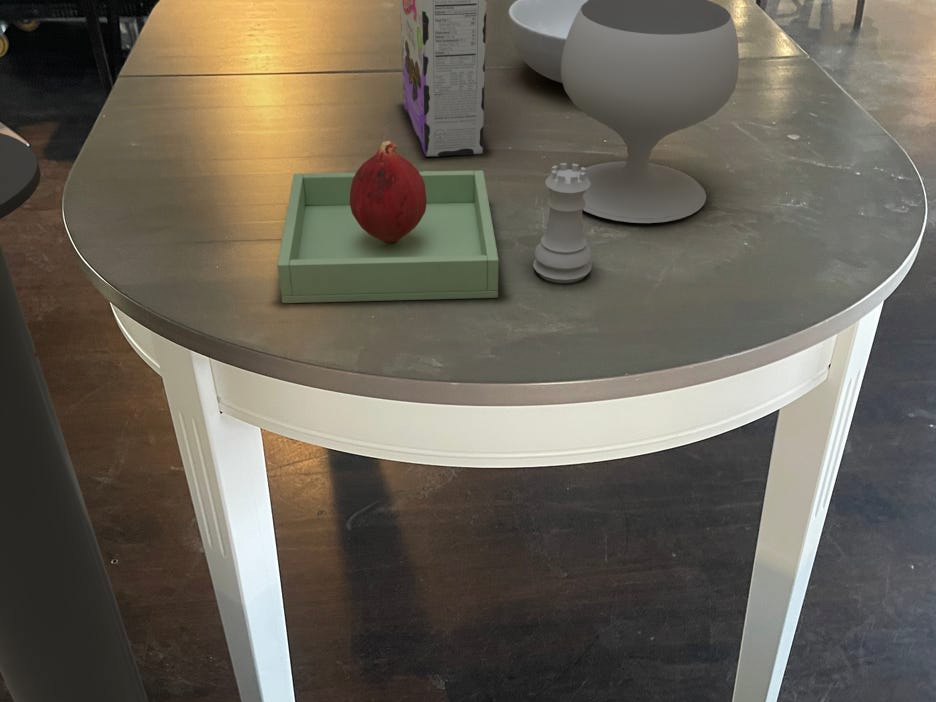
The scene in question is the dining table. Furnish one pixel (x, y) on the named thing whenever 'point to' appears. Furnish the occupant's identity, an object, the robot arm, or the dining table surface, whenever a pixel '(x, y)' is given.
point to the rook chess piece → (564, 228)
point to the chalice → (648, 94)
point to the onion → (388, 195)
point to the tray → (388, 265)
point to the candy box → (445, 73)
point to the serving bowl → (542, 32)
